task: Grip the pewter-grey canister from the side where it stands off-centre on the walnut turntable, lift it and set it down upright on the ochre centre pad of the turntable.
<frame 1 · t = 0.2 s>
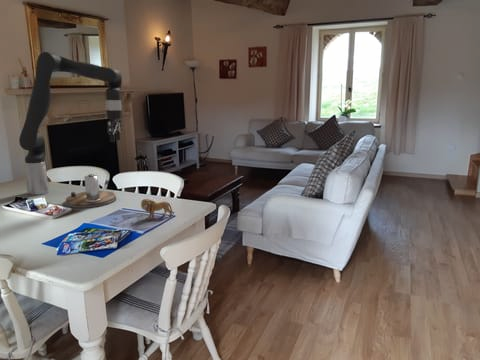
hand: (115, 141, 191), 29 cm above the table, tool pointing down, fingers open, 8 cm apart
canister: (93, 200, 179), point 2 cm above the table, touching turntable
turntable: (90, 195, 185), point 3 cm above the table, hinge at 0.0°, touching canister
turntable base: (91, 200, 186), on the table
lion figurine: (157, 217, 163), on the table
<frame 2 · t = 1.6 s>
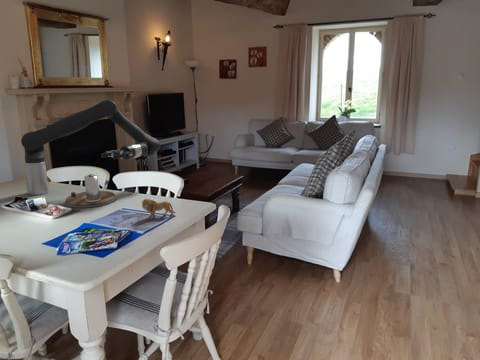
hand: (107, 156, 184), 22 cm above the table, tool horizontal, fingers open, 8 cm apart
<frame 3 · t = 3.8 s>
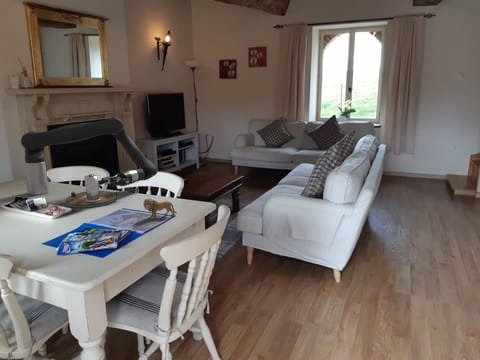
hand: (104, 184, 184), 9 cm above the table, tool horizontal, fingers open, 8 cm apart
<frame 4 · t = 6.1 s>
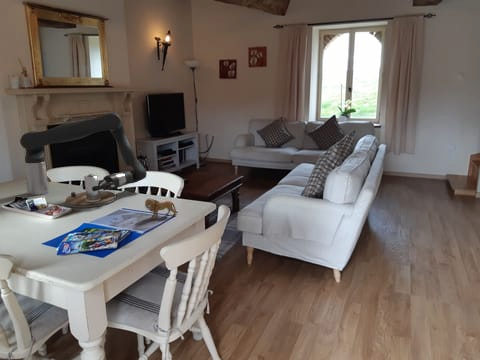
hand: (88, 188, 176), 9 cm above the table, tool horizontal, fingers closed on canister, 6 cm apart
canister: (93, 200, 179), point 2 cm above the table, touching gripper, turntable
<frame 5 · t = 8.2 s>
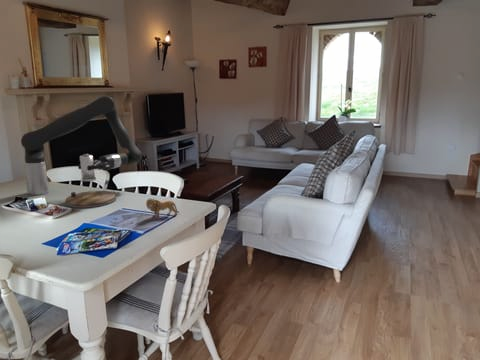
hand: (83, 167, 179), 18 cm above the table, tool horizontal, fingers closed on canister, 6 cm apart
canister: (88, 179, 183), point 11 cm above the table, touching gripper
turntable: (90, 195, 185), point 3 cm above the table, hinge at 0.0°
when the fingers open (10 cm above the table, at t = 10.6 s): canister drops 1 cm, resting on turntable.
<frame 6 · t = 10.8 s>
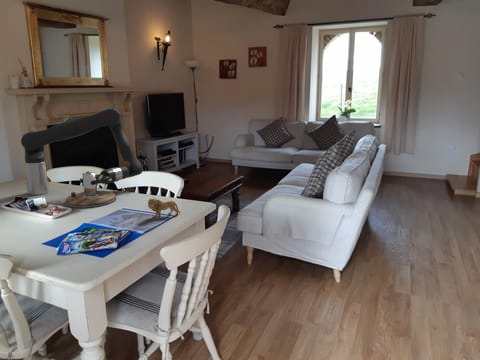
hand: (86, 182, 182), 10 cm above the table, tool horizontal, fingers open, 8 cm apart
canister: (91, 196, 186), point 2 cm above the table, touching turntable
turntable: (90, 195, 185), point 3 cm above the table, hinge at 0.0°, touching canister
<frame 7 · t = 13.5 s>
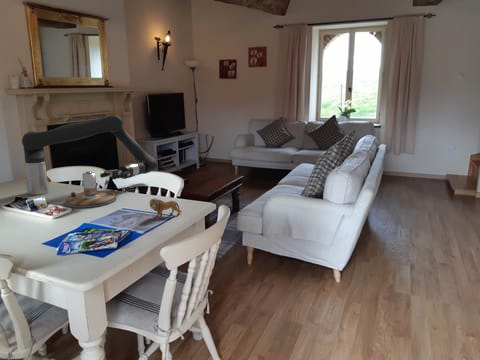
hand: (106, 176, 193), 10 cm above the table, tool horizontal, fingers open, 8 cm apart
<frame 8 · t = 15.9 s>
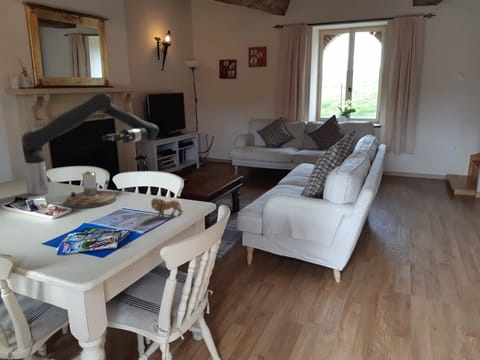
hand: (108, 138, 190), 30 cm above the table, tool horizontal, fingers open, 8 cm apart
at the end: canister 0.1 cm from the turntable (horizontally); canister tilted 0°; the gripper is holding nothing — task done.
